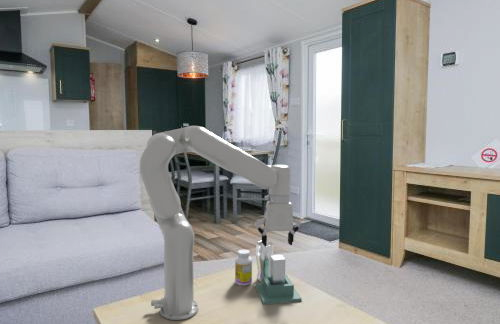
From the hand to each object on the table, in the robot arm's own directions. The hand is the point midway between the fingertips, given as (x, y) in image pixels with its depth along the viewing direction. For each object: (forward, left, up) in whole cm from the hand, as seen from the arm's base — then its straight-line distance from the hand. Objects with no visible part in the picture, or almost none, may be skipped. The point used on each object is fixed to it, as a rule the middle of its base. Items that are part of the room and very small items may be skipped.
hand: (277, 244), depth 132 cm
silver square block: (0, 0, -18) cm, 18 cm away
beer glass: (-2, +13, -19) cm, 23 cm away
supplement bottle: (-11, +11, -19) cm, 25 cm away
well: (0, 0, -19) cm, 19 cm away
